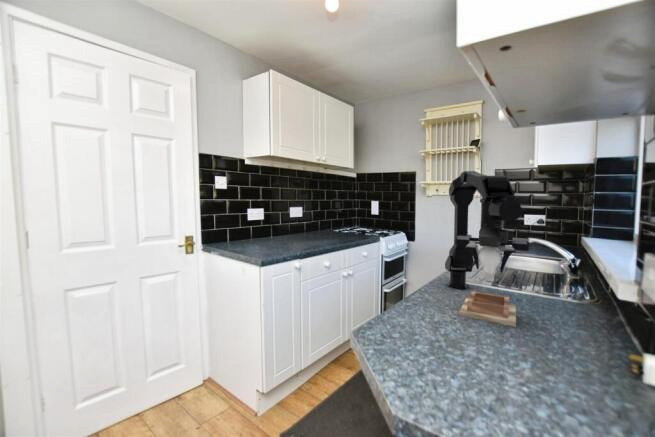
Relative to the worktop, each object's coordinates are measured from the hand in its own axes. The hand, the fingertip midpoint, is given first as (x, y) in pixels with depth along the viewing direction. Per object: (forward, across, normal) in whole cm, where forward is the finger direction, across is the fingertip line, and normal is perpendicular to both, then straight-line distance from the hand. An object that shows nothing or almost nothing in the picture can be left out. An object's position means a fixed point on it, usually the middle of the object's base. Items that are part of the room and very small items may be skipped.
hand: (489, 270), depth 88 cm
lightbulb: (+4, 0, 0) cm, 4 cm away
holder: (+13, 0, 0) cm, 13 cm away
